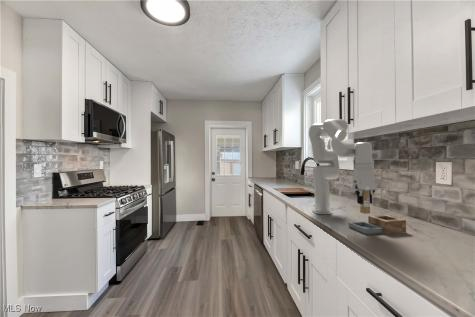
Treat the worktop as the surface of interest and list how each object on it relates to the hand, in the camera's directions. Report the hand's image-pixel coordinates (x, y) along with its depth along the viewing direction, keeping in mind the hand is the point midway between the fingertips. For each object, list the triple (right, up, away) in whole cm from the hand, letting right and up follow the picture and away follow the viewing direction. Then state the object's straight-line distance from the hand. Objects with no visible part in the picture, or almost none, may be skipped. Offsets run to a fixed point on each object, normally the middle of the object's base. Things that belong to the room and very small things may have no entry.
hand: (364, 203), depth 110 cm
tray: (0, -14, 0) cm, 14 cm away
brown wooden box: (+11, -13, 0) cm, 17 cm away
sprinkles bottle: (0, -5, 0) cm, 5 cm away
